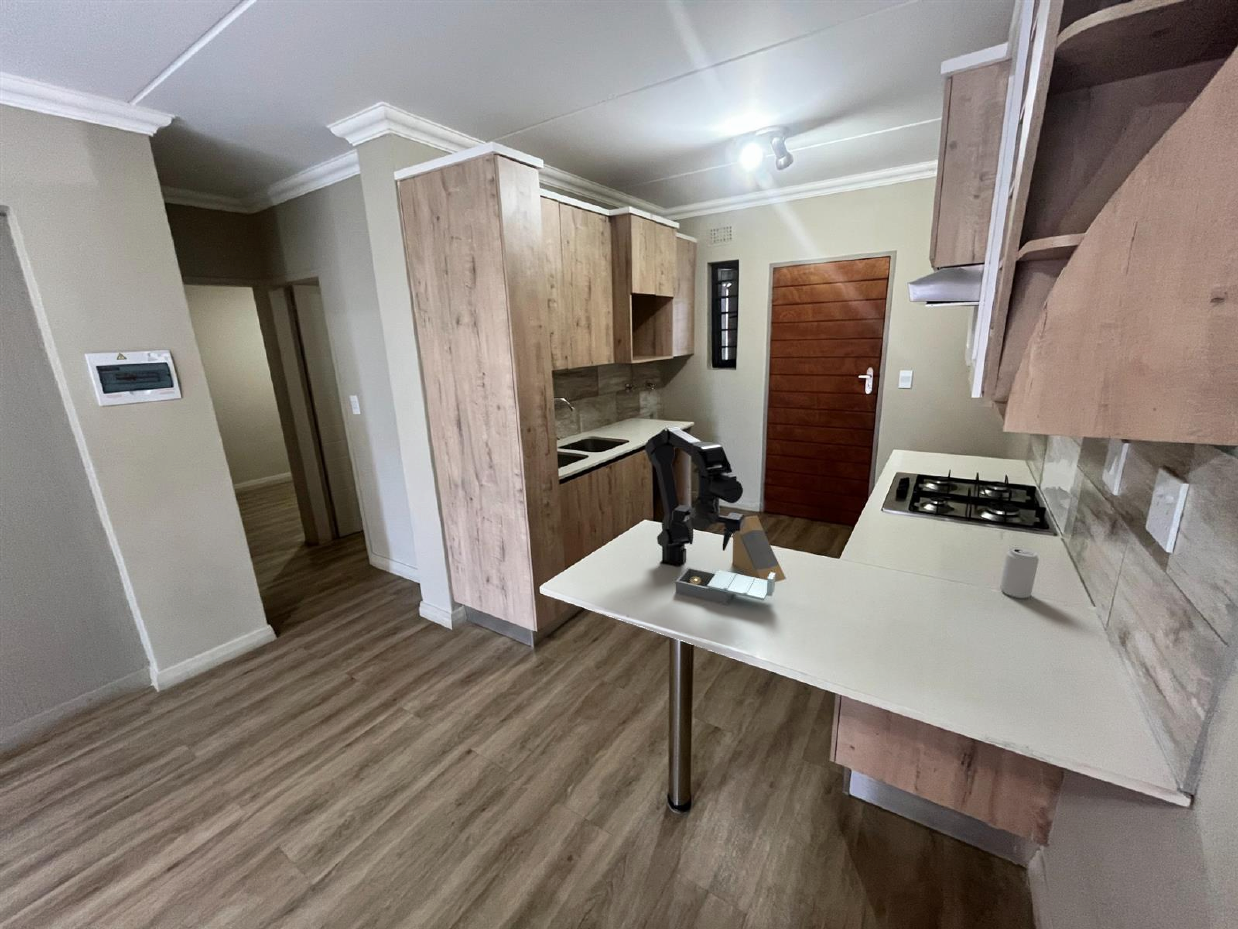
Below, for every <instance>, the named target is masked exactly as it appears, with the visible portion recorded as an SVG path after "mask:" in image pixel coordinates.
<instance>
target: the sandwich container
mask: <svg viewBox="0 0 1238 929" xmlns="http://www.w3.org/2000/svg"><path fill="white" fill-rule="evenodd" d="M745 518H746V519H745V525H744V526H743V528H742V529H741V530H740V531H736V532H735V533H732V564H733V565H734V566H735V567H736V568H738V569H739V570H740V571H742V572H743V573H745V574H746V575H747V576H749V577H755V578H759V579H763V580H767V579H768V576H769V574H770V572H773V573H776V574H775V583H777V582H781V581H784V580H787V577H786V575H785V573H784V571H783V568H782V567H781V565H780V563H779V560H778V559H777V557H776V555H775V552H774V549H773V547H772V546H771V544H770V542H769V539H768V537H767V535H766V533H765V531H764V528H763V527H762V524H761V522H760V520H759V517H758V515H751V516H745Z"/></svg>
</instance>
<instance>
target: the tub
mask: <svg viewBox="0 0 1238 929" xmlns="http://www.w3.org/2000/svg"><path fill="white" fill-rule="evenodd" d="M716 573H717V572H711V571H708V570H702V569H698V568H694V567H689V566H687V567H686V569H685V570H684V571H683V572H682V574H680V576H679V577H678V579H676V581H675V594H679V595H684V596H687V597H691V598H696V599H699V600H704V601H708V602H712V603H715V604H716V603H717V604H720V605H725V606H728V605H729V602H730V601H731V599H732V598H733V595H734V594H732V593H727V592H723V591H719V590H714V589H710V588H707V585H708V584H709V582H710V581H711V580H712V578H713V577H714V576H715V574H716ZM691 577H699V578H700V579H701V586H700V585H695V584H691V583H690V578H691Z"/></svg>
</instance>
